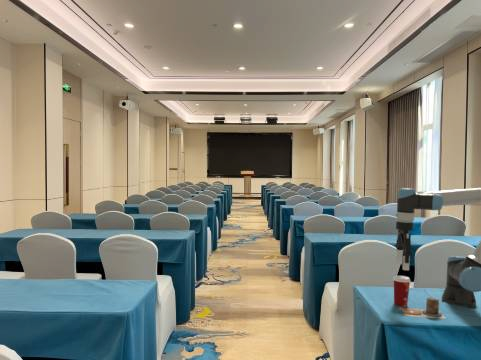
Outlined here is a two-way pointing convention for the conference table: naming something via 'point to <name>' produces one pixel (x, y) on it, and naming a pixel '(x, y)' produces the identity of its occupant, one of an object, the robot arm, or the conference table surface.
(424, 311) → the grey pad
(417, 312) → the terracotta pad
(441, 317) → the board
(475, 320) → the conference table surface
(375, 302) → the conference table surface
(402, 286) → the paper cup
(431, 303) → the brown short cylinder
